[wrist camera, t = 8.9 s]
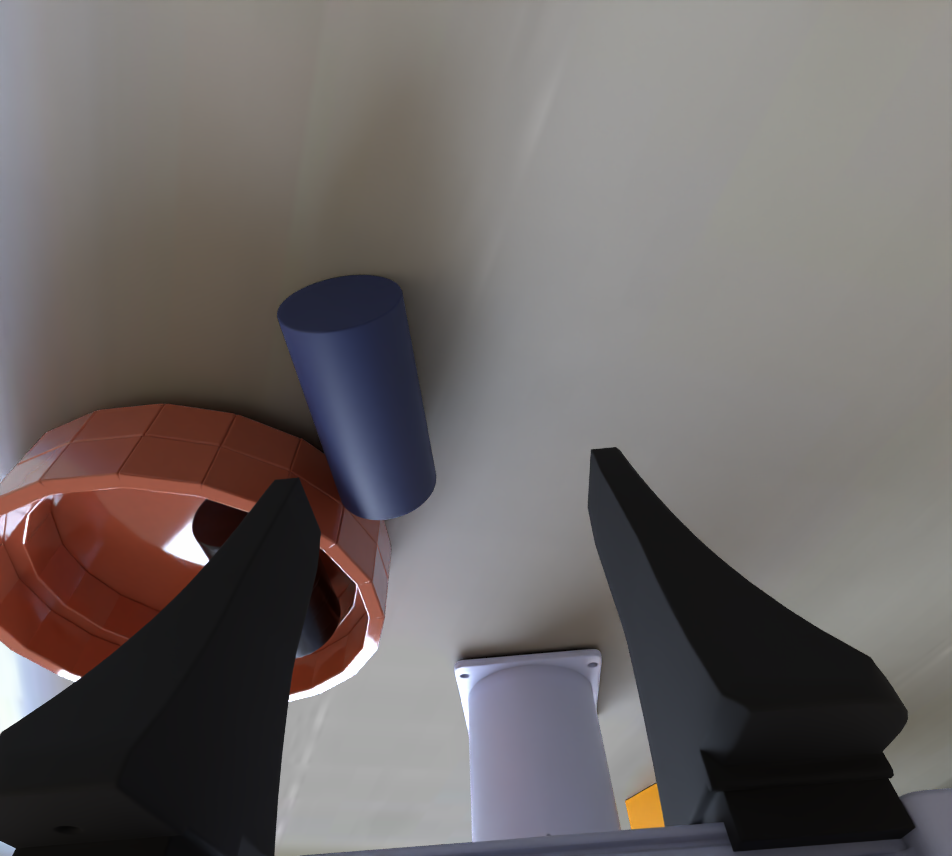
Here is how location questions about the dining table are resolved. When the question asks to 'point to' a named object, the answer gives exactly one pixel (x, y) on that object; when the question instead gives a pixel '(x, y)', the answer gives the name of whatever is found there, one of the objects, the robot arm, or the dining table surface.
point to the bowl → (163, 533)
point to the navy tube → (362, 391)
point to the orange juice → (645, 809)
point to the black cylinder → (324, 607)
